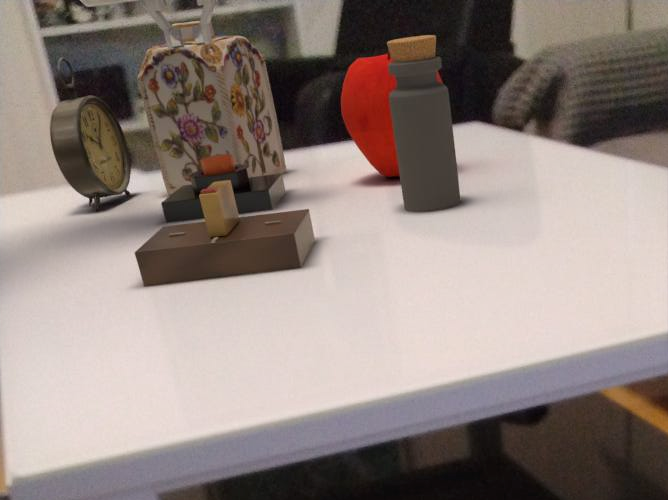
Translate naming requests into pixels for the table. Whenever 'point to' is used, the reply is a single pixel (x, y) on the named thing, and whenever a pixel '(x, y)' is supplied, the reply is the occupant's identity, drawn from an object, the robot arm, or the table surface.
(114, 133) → the alarm clock
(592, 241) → the table surface
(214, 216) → the tan rectangular block
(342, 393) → the table surface
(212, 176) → the button base
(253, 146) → the decorative jar
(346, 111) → the apple
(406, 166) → the bottle
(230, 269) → the plate
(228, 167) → the bell button
